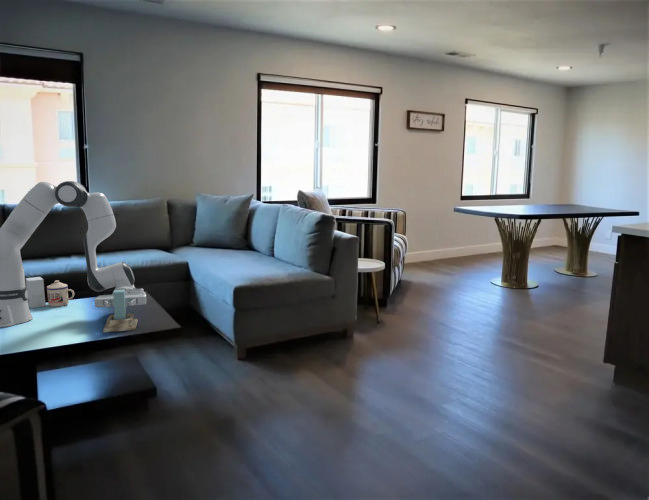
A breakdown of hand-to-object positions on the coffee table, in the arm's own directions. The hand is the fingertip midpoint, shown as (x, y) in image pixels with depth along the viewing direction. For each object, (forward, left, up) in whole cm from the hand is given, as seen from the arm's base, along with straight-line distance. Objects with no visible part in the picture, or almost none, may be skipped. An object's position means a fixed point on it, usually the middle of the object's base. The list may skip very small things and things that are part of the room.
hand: (119, 304), depth 207 cm
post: (0, +1, -8) cm, 9 cm away
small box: (-42, +47, -10) cm, 64 cm away
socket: (0, +1, -9) cm, 10 cm away
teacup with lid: (-31, +46, -10) cm, 56 cm away
